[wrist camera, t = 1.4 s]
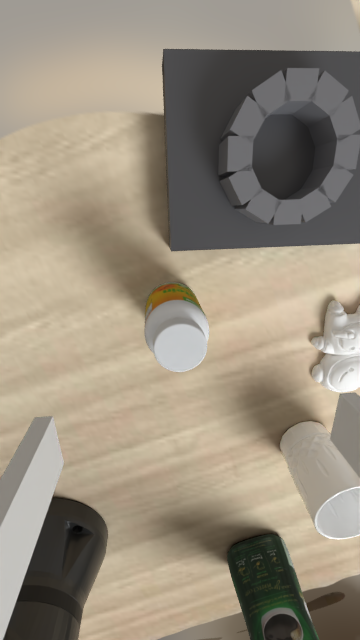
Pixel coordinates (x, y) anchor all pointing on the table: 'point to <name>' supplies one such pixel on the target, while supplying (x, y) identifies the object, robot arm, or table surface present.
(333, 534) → the white cup
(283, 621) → the coffee jar
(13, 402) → the table surface
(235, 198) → the square plate with collar
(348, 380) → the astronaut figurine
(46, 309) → the table surface
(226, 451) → the table surface
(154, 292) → the supplement bottle
